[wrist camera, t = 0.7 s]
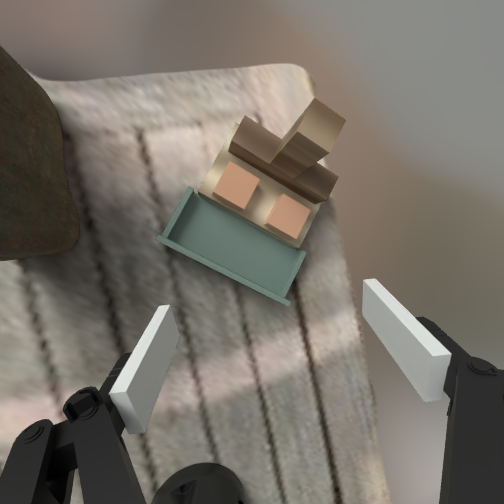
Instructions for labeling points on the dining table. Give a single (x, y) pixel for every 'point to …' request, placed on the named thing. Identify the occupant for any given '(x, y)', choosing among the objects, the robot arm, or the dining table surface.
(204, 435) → the dining table surface
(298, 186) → the t-shaped wooden block
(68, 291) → the dining table surface
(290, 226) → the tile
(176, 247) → the box
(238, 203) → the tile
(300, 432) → the dining table surface
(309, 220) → the beige slotted plate
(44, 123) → the container
